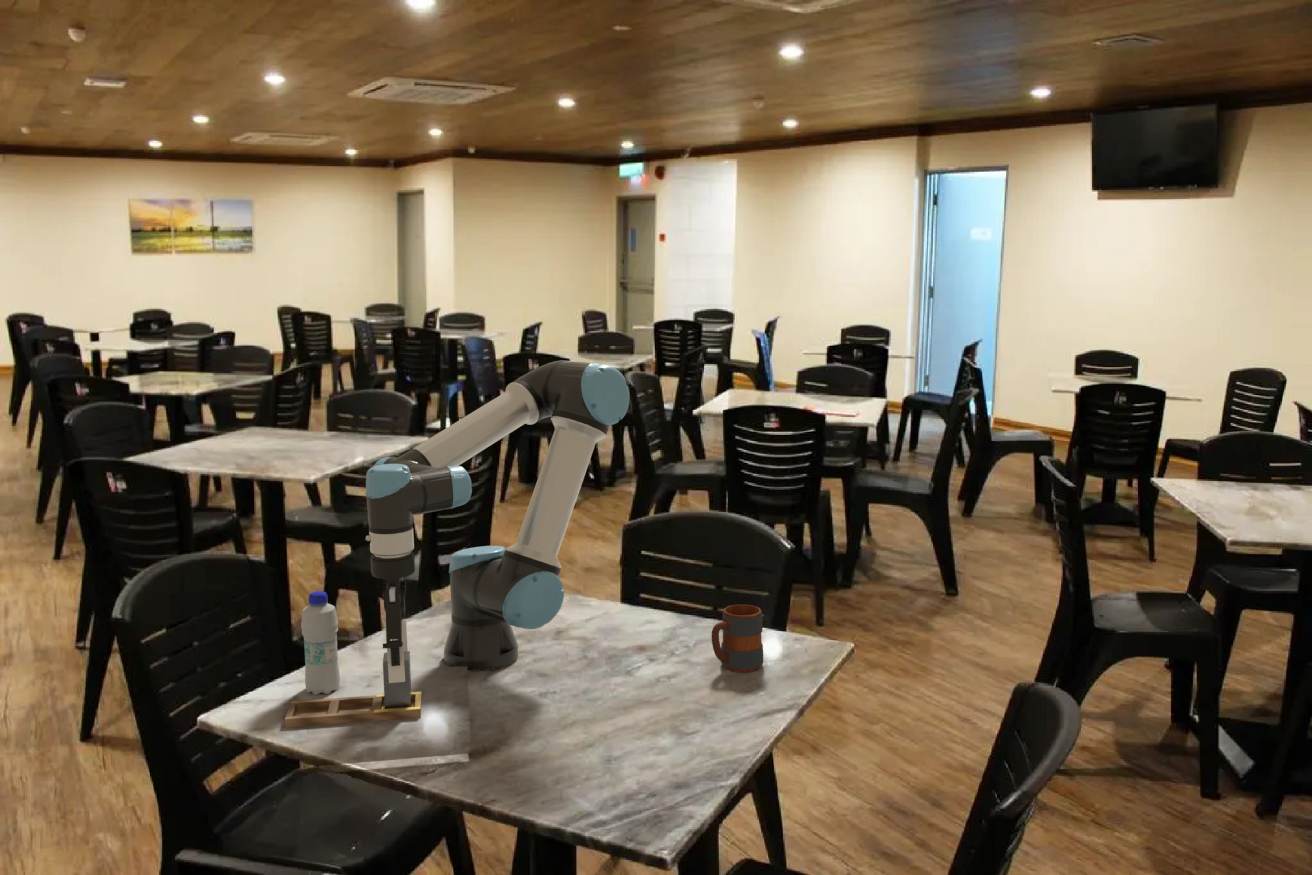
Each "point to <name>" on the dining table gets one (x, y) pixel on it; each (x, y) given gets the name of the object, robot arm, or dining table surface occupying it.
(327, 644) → the bottle
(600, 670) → the dining table surface
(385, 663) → the block
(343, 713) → the wooden compartment tray
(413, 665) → the dining table surface
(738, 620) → the mug
